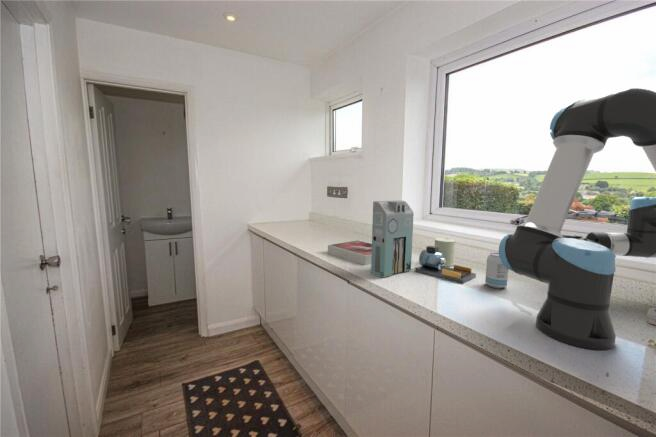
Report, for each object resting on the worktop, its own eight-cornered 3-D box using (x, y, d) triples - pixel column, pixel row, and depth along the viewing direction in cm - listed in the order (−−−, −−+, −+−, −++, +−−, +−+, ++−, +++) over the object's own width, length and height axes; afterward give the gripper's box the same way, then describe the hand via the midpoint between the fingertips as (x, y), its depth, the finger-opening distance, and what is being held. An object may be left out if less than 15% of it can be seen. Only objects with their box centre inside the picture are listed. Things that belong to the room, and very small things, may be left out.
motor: (462, 283, 108) (464, 256, 106) (415, 271, 122) (416, 247, 121) (475, 277, 115) (477, 251, 114) (429, 266, 130) (431, 243, 129)
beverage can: (494, 282, 110) (497, 251, 108) (511, 288, 103) (514, 256, 102) (480, 284, 108) (483, 252, 106) (496, 290, 101) (499, 257, 100)
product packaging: (357, 248, 166) (357, 240, 165) (396, 259, 144) (396, 249, 143) (327, 254, 153) (327, 244, 152) (365, 266, 131) (365, 255, 130)
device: (384, 278, 113) (387, 202, 109) (370, 273, 119) (372, 201, 116) (411, 271, 123) (414, 201, 119) (397, 266, 129) (399, 200, 125)
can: (457, 263, 135) (458, 238, 134) (449, 267, 128) (451, 241, 127) (437, 260, 141) (439, 236, 140) (429, 263, 135) (431, 238, 133)
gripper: (631, 265, 84) (547, 260, 89) (581, 246, 108) (517, 243, 113) (634, 239, 83) (549, 236, 88) (584, 226, 107) (519, 224, 112)
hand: (531, 240), depth 101 cm, fingers open, 13 cm apart
